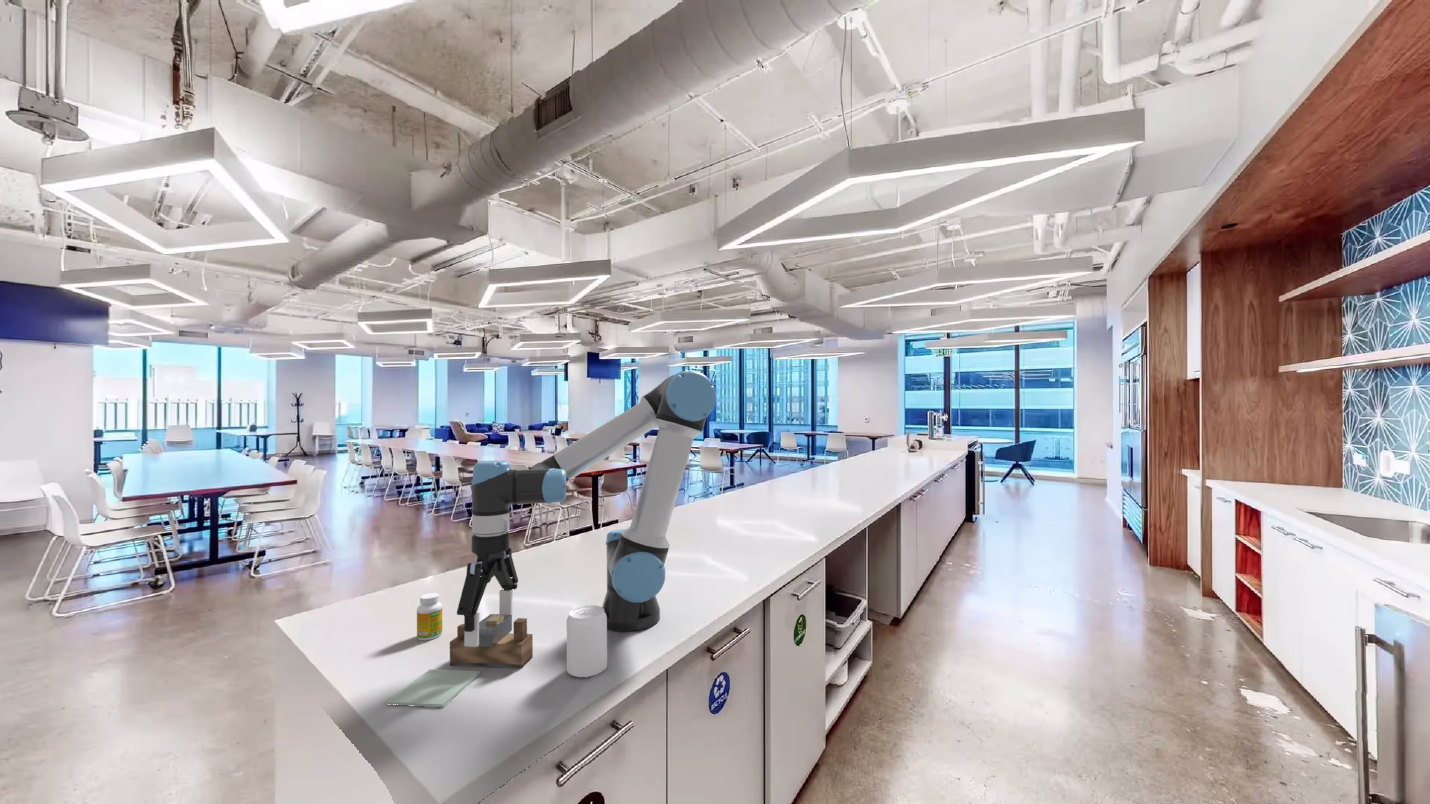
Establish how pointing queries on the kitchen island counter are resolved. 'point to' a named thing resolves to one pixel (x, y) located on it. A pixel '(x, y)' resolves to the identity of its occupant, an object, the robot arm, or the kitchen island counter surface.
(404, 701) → the mat
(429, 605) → the supplement bottle
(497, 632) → the dark grey rectangular block
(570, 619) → the beverage can
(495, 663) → the hand plane
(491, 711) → the kitchen island counter surface
